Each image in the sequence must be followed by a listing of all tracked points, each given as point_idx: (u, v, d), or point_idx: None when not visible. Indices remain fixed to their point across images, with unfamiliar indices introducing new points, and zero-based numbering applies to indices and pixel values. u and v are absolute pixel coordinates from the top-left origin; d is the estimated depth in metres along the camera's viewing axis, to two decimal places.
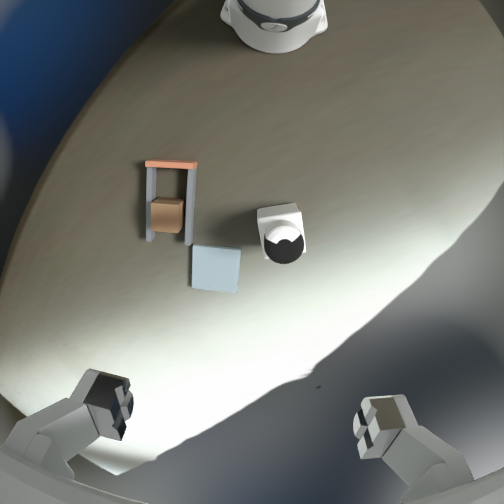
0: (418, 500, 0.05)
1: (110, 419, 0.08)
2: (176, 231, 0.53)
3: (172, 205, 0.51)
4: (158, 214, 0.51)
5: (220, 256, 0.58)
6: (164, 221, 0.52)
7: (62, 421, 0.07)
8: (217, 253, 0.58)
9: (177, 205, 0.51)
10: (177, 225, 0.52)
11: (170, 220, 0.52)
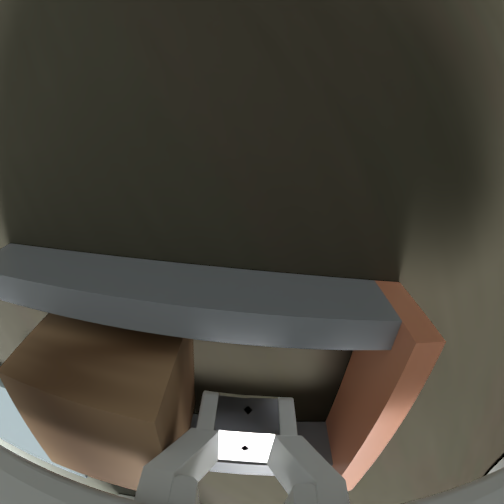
0: (418, 500, 0.05)
1: (243, 442, 0.08)
2: (55, 460, 0.08)
3: None
4: (94, 434, 0.06)
5: None
6: (73, 445, 0.07)
7: (197, 455, 0.07)
8: None
9: None
10: (80, 470, 0.08)
11: (90, 464, 0.07)
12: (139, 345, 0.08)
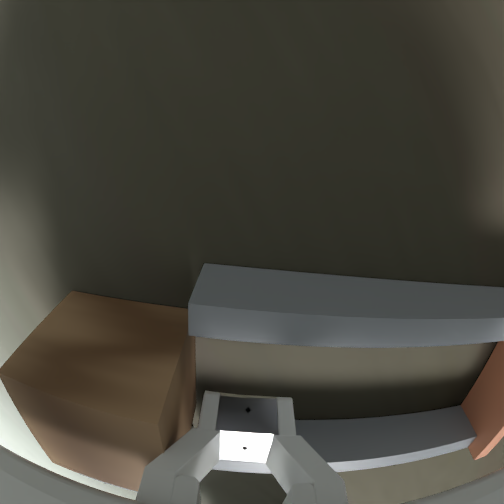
0: (418, 500, 0.05)
1: (244, 442, 0.08)
2: (55, 461, 0.08)
3: None
4: (96, 436, 0.06)
5: None
6: (74, 446, 0.07)
7: (198, 455, 0.07)
8: None
9: None
10: (81, 471, 0.08)
11: (91, 465, 0.07)
12: (142, 346, 0.08)
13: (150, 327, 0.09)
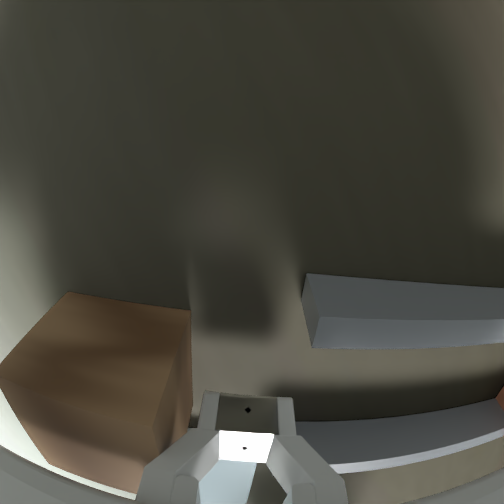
0: (418, 500, 0.05)
1: (243, 442, 0.08)
2: (52, 462, 0.07)
3: None
4: (91, 437, 0.06)
5: (219, 489, 0.14)
6: (69, 448, 0.07)
7: (198, 455, 0.07)
8: (231, 487, 0.14)
9: None
10: (77, 472, 0.08)
11: (87, 466, 0.07)
12: (137, 347, 0.08)
13: (145, 328, 0.09)
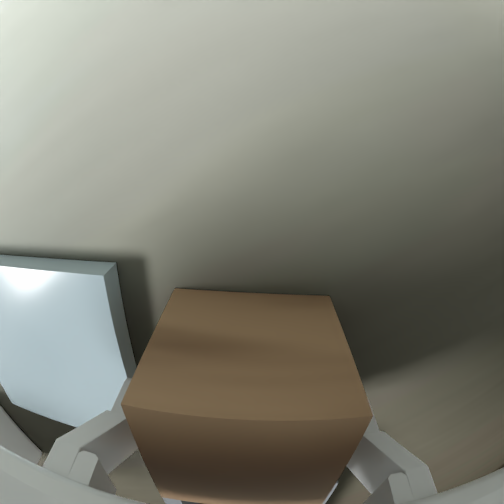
0: (418, 500, 0.05)
1: None
2: (136, 414, 0.05)
3: (195, 500, 0.07)
4: (287, 484, 0.06)
5: (47, 400, 0.11)
6: (239, 465, 0.06)
7: (106, 435, 0.07)
8: (60, 411, 0.12)
9: None
10: (141, 438, 0.06)
11: (195, 466, 0.06)
12: None
13: None
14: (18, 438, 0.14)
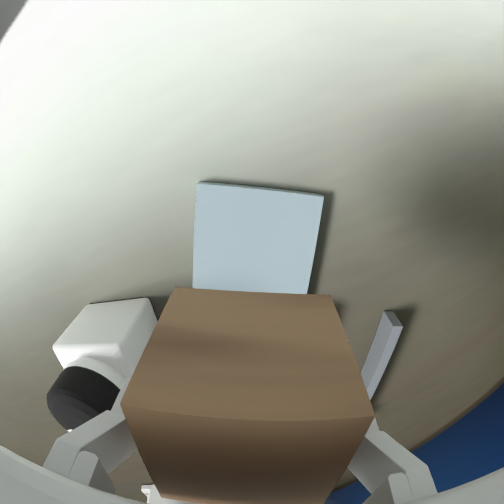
0: (418, 500, 0.05)
1: None
2: (135, 414, 0.05)
3: (195, 501, 0.07)
4: (288, 485, 0.06)
5: (240, 282, 0.24)
6: (239, 465, 0.06)
7: (106, 435, 0.07)
8: (247, 290, 0.24)
9: None
10: (140, 438, 0.06)
11: (194, 466, 0.06)
12: None
13: None
14: None
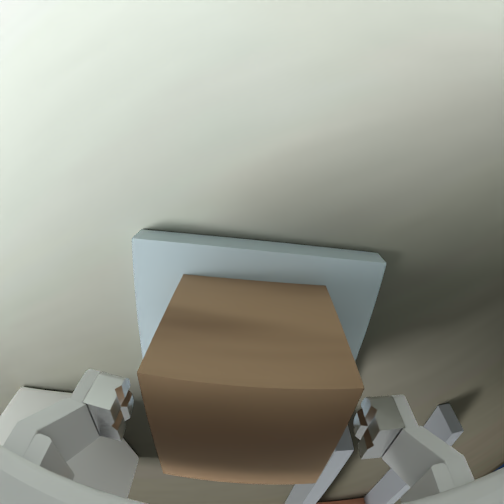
0: (418, 500, 0.05)
1: (110, 419, 0.08)
2: (150, 383, 0.06)
3: (196, 476, 0.08)
4: (284, 458, 0.07)
5: None
6: (241, 435, 0.07)
7: (62, 421, 0.07)
8: None
9: (171, 471, 0.08)
10: (151, 409, 0.07)
11: (200, 437, 0.07)
12: None
13: None
14: (120, 445, 0.16)
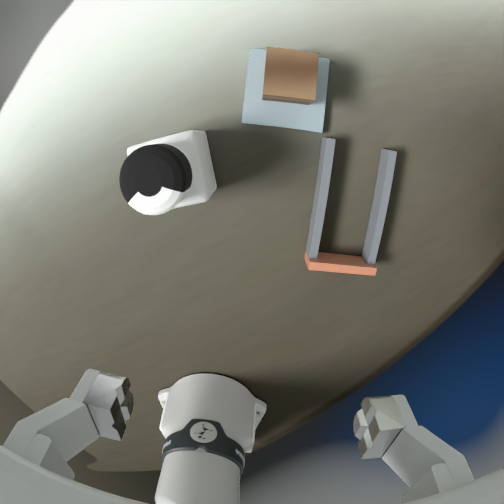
0: (418, 500, 0.05)
1: (111, 419, 0.08)
2: (269, 49, 0.25)
3: (274, 93, 0.26)
4: (302, 79, 0.26)
5: (276, 111, 0.32)
6: (290, 67, 0.25)
7: (62, 421, 0.07)
8: (281, 117, 0.32)
9: (265, 93, 0.27)
10: (267, 59, 0.25)
11: (279, 68, 0.25)
12: None
13: None
14: (212, 166, 0.34)
